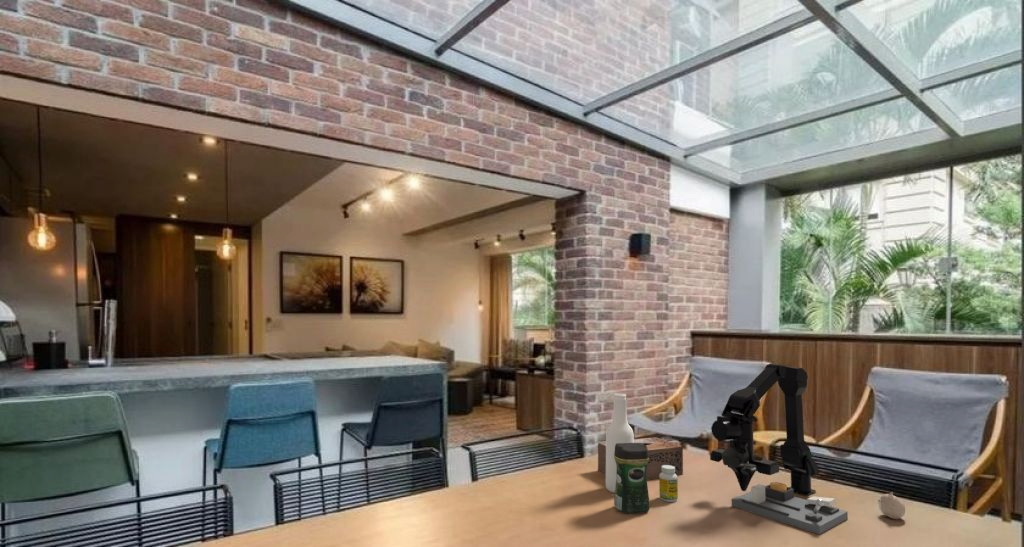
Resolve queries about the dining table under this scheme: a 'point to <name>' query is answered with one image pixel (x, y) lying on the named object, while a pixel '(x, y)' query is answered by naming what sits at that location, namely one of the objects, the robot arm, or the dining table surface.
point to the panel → (792, 510)
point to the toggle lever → (818, 505)
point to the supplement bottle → (668, 484)
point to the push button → (778, 486)
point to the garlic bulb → (891, 506)
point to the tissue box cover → (652, 456)
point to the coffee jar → (631, 478)
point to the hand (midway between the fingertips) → (743, 490)
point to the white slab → (826, 500)
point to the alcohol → (616, 438)
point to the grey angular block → (758, 493)
